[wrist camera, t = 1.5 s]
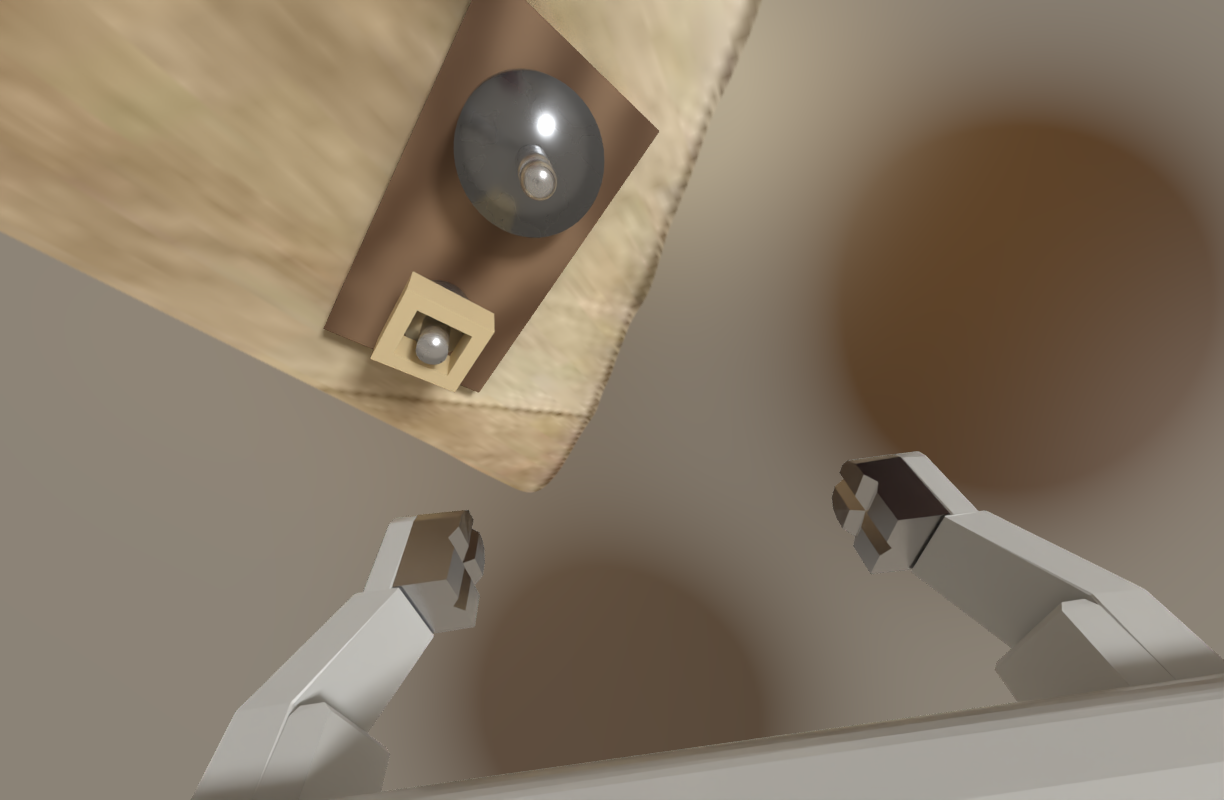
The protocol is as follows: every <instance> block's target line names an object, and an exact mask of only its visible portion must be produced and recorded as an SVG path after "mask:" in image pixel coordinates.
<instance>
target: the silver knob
mask: <svg viewBox="0 0 1224 800" xmlns="http://www.w3.org/2000/svg"><path fill="white" fill-rule="evenodd" d="M431 281H433V282H435V283H436V284H438V285H440V286H442V287H444V288H446V289H448V290H450V291H452V292H454V293H456V294H457V295H459V296H461V297H463V298H465V299H467V300H469V299H468V297H467V296H466V294H465V293H464V292H463V291H462V290H461V289H460V288H458V287H457V286H455V285H454V284H451V283H449V282H446V281H442V280H431ZM463 334H464V333H463V332H461V331H459V330H457V329H455V328H453V327H451V326H449V325H447V324H445V323H443V322H440V321H438V320H436V319H434V318H432V317H430V316H428V315H426V314H424V313H422V312H420V311H418V310H417V312H416V313H415V315H414V317H413V319H412V321H411V323H410V324H409V326H408V328H407V330H406V332H405V335H406V336H407V337H408V338H411V339H413V340H415V341H417V346H416V355H417V357H418V358H419V359H420V360H421V361H422V362H424V363H427V364H431V365H436V364H440V363H442V362H444V361H445V360H446V358H447V355H448V352H451V351H453V350H454V348H455V347H456V345H457V344H458V342H459V340H460V339H461V337H462V336H463Z"/></svg>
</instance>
